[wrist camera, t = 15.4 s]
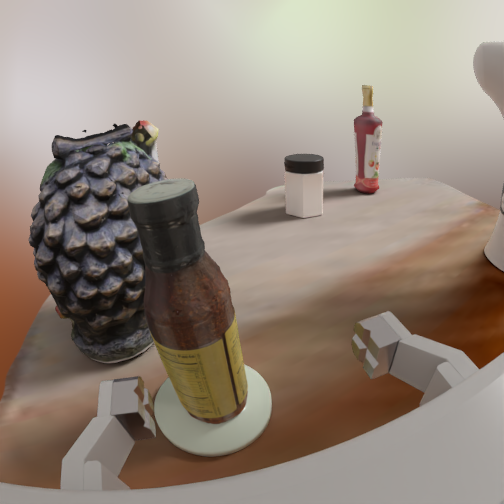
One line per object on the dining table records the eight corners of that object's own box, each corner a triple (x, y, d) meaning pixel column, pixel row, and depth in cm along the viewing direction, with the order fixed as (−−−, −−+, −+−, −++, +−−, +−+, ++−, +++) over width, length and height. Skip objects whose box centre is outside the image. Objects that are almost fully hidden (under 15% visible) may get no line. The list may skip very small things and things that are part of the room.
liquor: (370, 197, 75) (371, 85, 62) (347, 190, 81) (347, 84, 67) (384, 191, 79) (387, 87, 66) (362, 185, 84) (363, 85, 71)
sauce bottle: (216, 366, 31) (181, 167, 21) (263, 397, 27) (246, 176, 18) (166, 403, 27) (96, 195, 17) (211, 442, 23) (144, 213, 13)
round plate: (279, 370, 31) (279, 364, 30) (260, 465, 22) (260, 461, 21) (179, 359, 33) (177, 353, 33) (140, 440, 24) (136, 435, 23)
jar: (288, 203, 74) (287, 153, 68) (323, 204, 72) (323, 153, 66) (283, 218, 66) (281, 161, 61) (322, 219, 64) (323, 162, 59)
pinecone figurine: (134, 273, 50) (102, 121, 39) (217, 284, 46) (194, 105, 34) (52, 355, 33) (-23, 164, 21) (141, 394, 29) (54, 137, 17)
